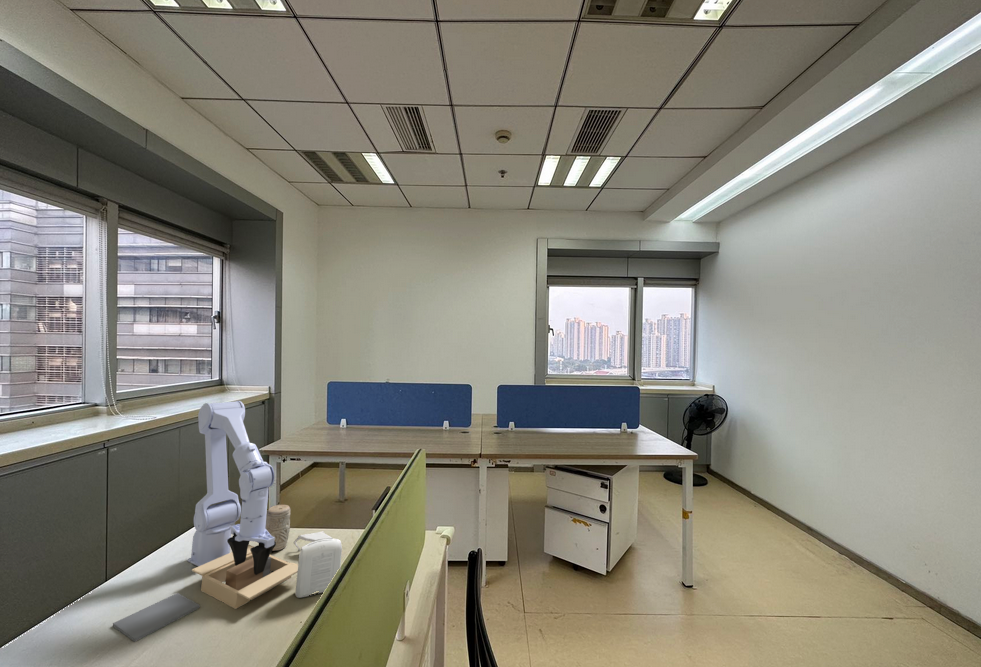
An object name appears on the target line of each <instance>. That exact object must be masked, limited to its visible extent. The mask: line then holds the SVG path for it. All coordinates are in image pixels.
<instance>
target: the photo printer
mask: <svg viewBox="0 0 981 667" xmlns="http://www.w3.org/2000/svg"><path fill="white" fill-rule="evenodd" d="M342 552H343V546H342V541H341V540H340V539H338V538H333V539H322V540H318V541H314V542H309V543H307V544H305V545H302V546H301V548H300V550H299V555H298V563H297V564H298V572H297V573H296V583H295V584H296V585H295V596H296V598H306V597H310V596H311V595H310V594H312V593H314V592H316V591H319V593H318V594H321V593H325V592H324V590H325V589H326V588H327V586H328V584H329V583H330V582H331V580H332V578H333V577H334V575H335V574H336V572H337V570H338V569H339V568H340V569H341V562H342ZM309 595H310V596H309Z"/></svg>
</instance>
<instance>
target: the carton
mask: <svg viewBox="0 0 981 667" xmlns="http://www.w3.org/2000/svg"><path fill="white" fill-rule="evenodd" d="M253 547H255V546H253V545H252V544H251V545H250V544H249V545H248V549H247V555H246V560H245V561H247V560H250V559H252V558H253V555H252V553H251V551H250V549H251V548H253ZM269 557H271V568H270V574H269V575H267V576H265V577H263V578H261V579H259V580H257V581H256V582H254V583H252V584H250V585H248V586H246V587H244V588H242V589H240V590H239V591H238V590H236V589H234V588H232V587H230V586H228V585H226V584H225V583H223V582H226V572H227V570H228V569H230V568H233V567H235V562H234V557H233V553H232V551H230V553H229V554H226V555H224V556H222V557H219V558H217V559H215V560H212V561H210V562H208V563H205V564H203V565H201V566H199V567H198V566H196V567H194V568H192V569H191V571H192V572H194V573H196V574H197V575H199V576H202V577H201V585H200V586H201V587H200V591H201V592H203V593H205V594H207V595H208V596H210V597H212V598H214V599H216V600H217V601H219V602H221V601H222V603H223V602H224V604H225V605H227V606H229V607H231V608H233V609H235V610H237V609H238V608H240V607H241V606H242V607H243V606H244V605H245V604H247V603H249V602H251V601H252V600H254V599H256V598H258V597H259V596H261V595H263V594H265V593H266V592H269V591H270V590H272V589H273V588H275V587H277V586H279V585H280V584H282V583H284V582H285V581H288V580H289V579H291V578H292V576H294V575H295V574H297V572H298V563H295V562H289V561H287V560H284V559H281V558H280V557H277V556H274V555H272V554H270V555H269ZM272 571H273V572H272ZM250 600H251V601H250Z"/></svg>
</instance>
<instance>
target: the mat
mask: <svg viewBox="0 0 981 667" xmlns="http://www.w3.org/2000/svg"><path fill="white" fill-rule="evenodd" d="M199 608H201V605H200V604H198V602H195V601H193V600H192V599H190V598H188V597H186V596H184V595H183V594H181V593H179V592H177V593H175V594H173V595H170V596H168V597H166V598H164V599H162V600H159V601H157V602H155V603H153V604H150V605H149V606H146V607H145V608H142V609H140V610H138V611H136V612H134V613H132V614H129V615H128V616H125V617H123V618H121V619H119V620H117V621H114V622H113V623H112V627H113V628H115V629H116V630H118V631H119V632H120V633H121V634H123V635H124V636H126V637H128V638H129V639H130V640H131V641H133V642H134V643H135V642H137V641H139V640H141V639H143V638H144V637H147V636H149V635H150V634H152V633H154V632H156V631H158V630H160V629H162V628H164V627H166V626H167V625H170V624H171V623H174V622H175V621H177V620H179V619H181V618H182V617H184V616H186V615H189V614H191V613H192V612H195V611H197V610H199Z"/></svg>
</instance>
